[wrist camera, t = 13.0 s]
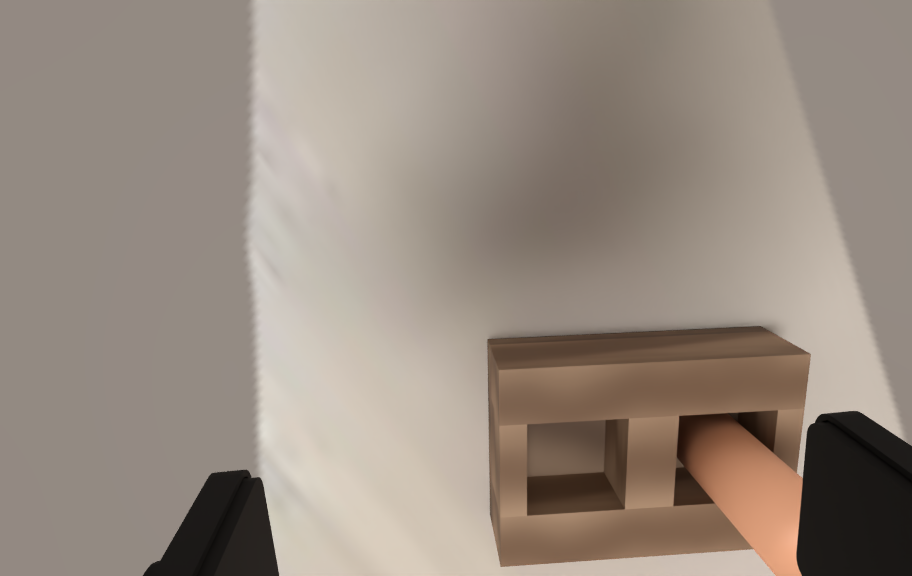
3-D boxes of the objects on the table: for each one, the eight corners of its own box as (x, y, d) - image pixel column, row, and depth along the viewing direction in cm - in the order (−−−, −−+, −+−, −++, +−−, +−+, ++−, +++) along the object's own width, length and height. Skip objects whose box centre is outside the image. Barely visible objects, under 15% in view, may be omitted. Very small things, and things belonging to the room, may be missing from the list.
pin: (662, 398, 38) (773, 513, 26) (725, 394, 38) (863, 505, 27) (660, 457, 39) (766, 593, 27) (722, 453, 39) (853, 585, 28)
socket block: (487, 339, 37) (498, 369, 33) (760, 326, 39) (810, 354, 34) (490, 514, 40) (500, 566, 36) (744, 498, 41) (787, 546, 37)
